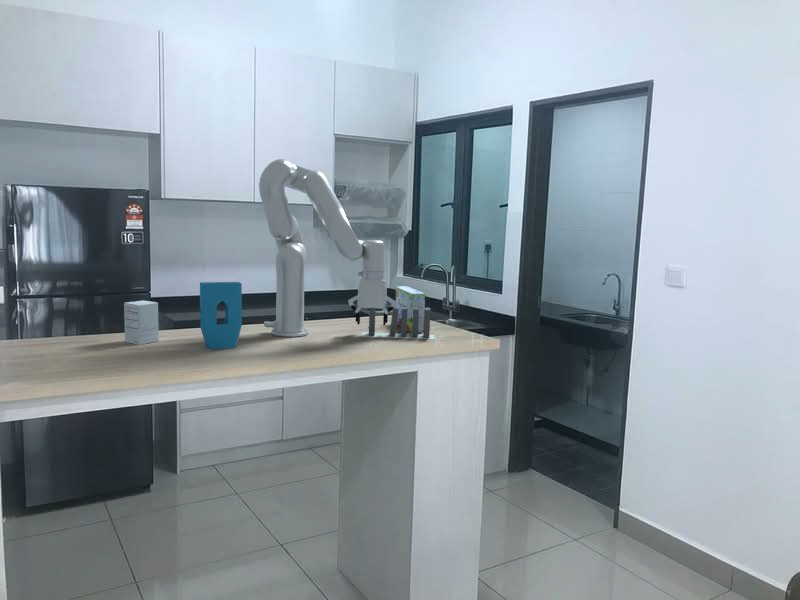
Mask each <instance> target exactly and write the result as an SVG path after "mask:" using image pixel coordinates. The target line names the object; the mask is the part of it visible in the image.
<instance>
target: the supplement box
mask: <svg viewBox="0 0 800 600" xmlns="http://www.w3.org/2000/svg"><path fill="white" fill-rule="evenodd" d="M123 308H124V309H123V311H124V312H123V315H124V316H123V318H124V341H125V343H128V344H133V345H140V346H141V345H144V344H145V345H146V344H151V343H155V342H160V340H159V339H160V337H159V334H160V333H159V303H158V302H156V301H150V300H149V301H148V300H137V301H128V302H127V301H126V302H123Z"/></svg>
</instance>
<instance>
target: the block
mask: <svg viewBox="0 0 800 600" xmlns="http://www.w3.org/2000/svg"><path fill="white" fill-rule="evenodd" d="M242 285H243V283H242V282H240V281H220V282H219V281H215V282H214V281H212V282H211V281H210V282H209V281H207V282H206V281H205V282H199V326H200V331H201V334H202V337H203V342H204V344H205V347H206V348H207V349H208V350H216V349H234V348H236V347H237V344H238V340H239V337H240V334H241V330H242V315H243V314H242V313H243V311H242V302H243V301H242V299H243V298H242V297H243V296H242V288H243V287H242ZM221 302H223V303H224V321H222V323H218V322H217V320H218V319H217V317H218V316H217V310H218V309H217V307H218V305H220V303H221Z"/></svg>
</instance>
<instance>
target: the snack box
mask: <svg viewBox="0 0 800 600" xmlns="http://www.w3.org/2000/svg"><path fill="white" fill-rule="evenodd" d="M395 301H396V305H395V306H396V307H399V310H398V318H397V326H399V327H401V314H402V307H407V331H408V332H410V333H412V322H413V317H412V314H413V307H419V321H418V333H423V326H424V316H423V315H424V308H426V307H425V305H426V293H425V292H422V291H419V290H417V289H415V288H412V287H410V286H408V285H406V286H405V285H404V286H399V285H398V286H395Z"/></svg>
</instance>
